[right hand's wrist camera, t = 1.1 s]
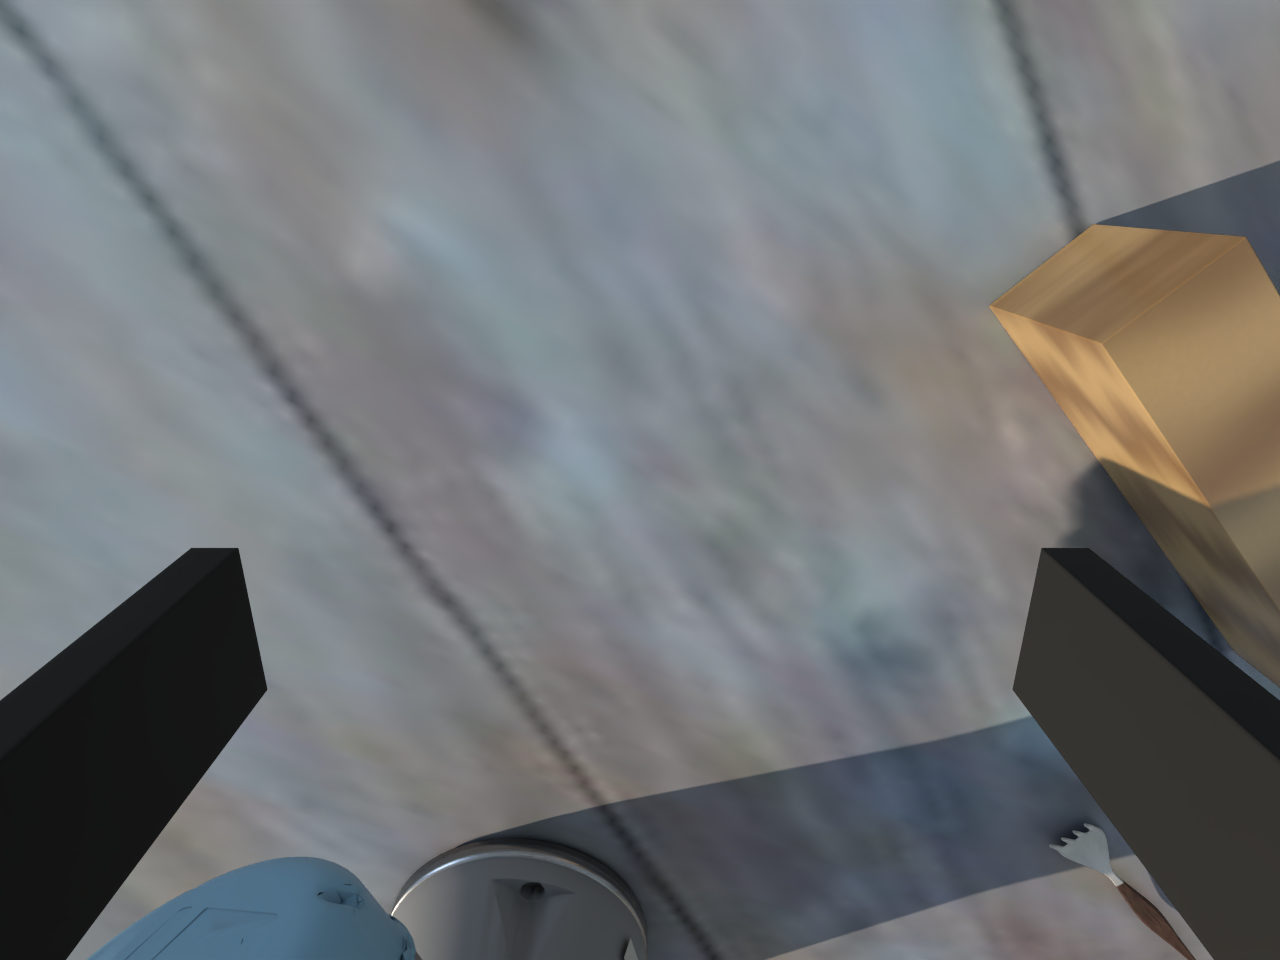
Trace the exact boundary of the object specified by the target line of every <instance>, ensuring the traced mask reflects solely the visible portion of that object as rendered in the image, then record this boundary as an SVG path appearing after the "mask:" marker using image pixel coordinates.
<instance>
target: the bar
mask: <svg viewBox="0 0 1280 960" xmlns="http://www.w3.org/2000/svg"><path fill="white" fill-rule="evenodd" d="M990 308H991V309H992V311H993V312H994V314H995V315H996V316H997V318H998V319H999V321H1000V322H1001V324H1002V325H1003V326H1004V328H1005V329H1006V331H1007V332H1008V333H1009V335H1010V336H1011V338H1012V339H1013V340H1014V342H1015V343H1016V345H1017V346H1018V348H1019V349H1020V350H1021V352H1022V353H1023V355H1024V356H1025V357H1026V359H1027V360H1028V362H1029V363H1030V364H1031V366H1032V367H1033V369H1034V370H1035V372H1036V373H1037V374H1038V376H1039V377H1040V379H1041V380H1042V381H1043V383H1044V384H1045V386H1046V387H1047V388H1048V390H1049V391H1050V393H1051V394H1052V395H1053V397H1054V398H1055V400H1056V401H1057V403H1058V404H1059V405H1060V407H1061V408H1062V410H1063V411H1064V412H1065V414H1066V415H1067V417H1068V418H1069V419H1070V421H1071V422H1072V424H1073V425H1074V427H1075V428H1076V429H1077V431H1078V432H1079V434H1080V435H1081V436H1082V438H1083V439H1084V441H1085V442H1086V443H1087V445H1088V446H1089V448H1090V449H1091V451H1092V452H1093V453H1094V455H1095V456H1096V458H1097V459H1098V460H1099V462H1100V463H1101V465H1102V466H1103V467H1104V469H1105V470H1106V472H1107V473H1108V475H1109V476H1110V477H1111V479H1112V480H1113V482H1114V483H1115V484H1116V486H1117V487H1118V489H1119V490H1120V491H1121V493H1122V494H1123V496H1124V497H1125V499H1126V500H1127V501H1128V503H1129V504H1130V506H1131V507H1132V508H1133V510H1134V511H1135V513H1136V514H1137V515H1138V517H1139V518H1140V520H1141V521H1142V523H1143V524H1144V525H1145V527H1146V528H1147V530H1148V531H1149V532H1150V534H1151V535H1152V537H1153V538H1154V539H1155V541H1156V542H1157V544H1158V545H1159V547H1160V548H1161V549H1162V551H1163V552H1164V554H1165V555H1166V556H1167V558H1168V559H1169V561H1170V562H1171V563H1172V565H1173V566H1174V568H1175V569H1176V570H1177V572H1178V573H1179V575H1180V576H1181V578H1182V579H1183V580H1184V582H1185V583H1186V585H1187V586H1188V587H1189V589H1190V590H1191V592H1192V593H1193V594H1194V596H1195V597H1196V599H1197V600H1198V602H1199V603H1200V604H1201V606H1202V607H1203V609H1204V610H1205V611H1206V613H1207V614H1208V616H1209V617H1210V618H1211V620H1212V621H1213V623H1214V624H1215V626H1216V627H1217V628H1218V630H1219V631H1220V633H1221V634H1222V635H1223V637H1224V638H1225V640H1226V641H1227V642H1228V644H1229V645H1230V647H1231V648H1232V650H1233V651H1234V652H1235V653H1236V654H1237V655H1239V656H1240V657H1241V658H1242V659H1244V660H1245V661H1246V662H1248V663H1249V664H1250V665H1251V666H1253V667H1254V668H1255V669H1256V670H1258V671H1259V672H1260V673H1262V674H1263V675H1264V676H1265V677H1267V678H1268V679H1269V680H1271V681H1272V682H1273V683H1274V684H1276V685H1277V686H1278V687H1279V688H1280V295H1279V293H1278V291H1277V289H1276V288H1275V286H1274V284H1273V283H1272V281H1271V279H1270V277H1269V276H1268V274H1267V272H1266V270H1265V269H1264V267H1263V265H1262V263H1261V262H1260V260H1259V258H1258V256H1257V255H1256V253H1255V251H1254V249H1253V248H1252V246H1251V244H1250V242H1249V241H1248V239H1247V237H1245V236H1233V235H1220V234H1208V233H1196V232H1184V231H1172V230H1159V229H1147V228H1135V227H1123V226H1110V225H1098V224H1093V225H1092V226H1091V227H1089V228H1088V229H1087V230H1085V231H1084V232H1083V233H1082V234H1080V235H1079V236H1078V237H1077V238H1075V239H1074V240H1073V241H1071V242H1070V243H1069V244H1068V245H1066V246H1065V247H1064V248H1062V249H1061V250H1060V251H1059V252H1057V253H1056V254H1055V255H1054V256H1052V257H1051V258H1050V259H1048V260H1047V261H1046V262H1045V263H1043V264H1042V265H1041V266H1039V267H1038V268H1037V269H1036V270H1034V271H1033V272H1032V273H1031V274H1029V275H1028V276H1027V277H1025V278H1024V279H1023V280H1022V281H1020V282H1019V283H1018V284H1016V285H1015V286H1014V287H1013V288H1011V289H1010V290H1009V291H1008V292H1006V293H1005V294H1004V295H1002V296H1001V297H1000V298H999V299H997V300H996V301H995V302H993V303H992V304H991V305H990Z"/></svg>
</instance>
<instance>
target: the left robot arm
mask: <svg viewBox="0 0 1280 960" xmlns="http://www.w3.org/2000/svg"><path fill="white" fill-rule="evenodd" d="M87 960H647V928H646V922H645V918H644V915H643V912H642V909H641V907H640V905H639V903H638V901H637V899H636V898H635V896H634V894H633V893H632V892H631V890H630V889H629V888H628V886H627V885H626V884H625V883H624V882H623V881H622V880H621V879H620V878H619V877H618V876H617V875H616V874H614V873H613V872H612V871H611V870H610V869H608V868H607V867H605V866H604V865H603V864H601V863H599V862H598V861H596V860H594V859H593V858H591V857H589V856H587V855H585V854H583V853H580V852H578V851H576V850H573V849H570V848H568V847H564V846H561V845H557V844H554V843H549V842H544V841H538V840H531V839H517V838H510V839H493V840H485V841H479V842H474V843H470V844H467V845H463V846H460V847H457V848H454V849H452V850H449V851H447V852H445V853H443V854H441V855H439V856H437V857H435V858H434V859H432V860H430V861H429V862H427V863H426V864H425V865H423V866H422V867H421V868H420V869H418V870H417V871H416V872H415V873H414V874H413V875H412V876H411V877H410V878H409V880H408V881H407V882H406V883H405V885H404V886H403V888H402V889H401V891H400V893H399V895H398V896H397V898H396V901H395V904H394V907H393V909H392V912H391V915H390V914H387V913H386V912H385V911H384V909H383V908H382V907H381V906H380V904H379V903H378V902H377V901H376V899H375V898H374V897H373V896H372V895H371V893H370V892H369V891H368V890H367V888H366V887H365V886H364V885H363V884H362V882H361V881H360V880H359V879H358V878H357V877H356V876H355V875H354V874H353V873H351V872H350V871H349V870H347V869H346V868H344V867H342V866H340V865H338V864H336V863H334V862H331V861H327V860H324V859H319V858H313V857H286V858H278V859H271V860H267V861H263V862H259V863H255V864H252V865H248V866H245V867H242V868H239V869H236V870H233V871H231V872H228V873H226V874H223V875H221V876H218V877H216V878H214V879H212V880H210V881H208V882H206V883H204V884H202V885H200V886H199V887H197V888H195V889H192V890H190V891H187V892H185V893H183V894H181V895H180V896H178V897H176V898H174V899H172V900H171V901H169V902H167V903H165V904H164V905H162V906H160V907H159V908H157V909H155V910H154V911H152V912H151V913H149V914H147V915H146V916H144V917H143V918H141V919H140V920H138V921H137V922H135V923H134V924H132V925H131V926H129V927H128V928H127V929H125V930H124V931H122V932H121V933H120V934H118V935H117V936H115V937H114V938H113V939H111V940H110V941H109V942H107V943H106V944H105V945H104V946H103V947H101V948H100V949H99V950H98V951H96V952H95V953H94V954H93V955H91V956H90V957H89V958H88V959H87Z"/></svg>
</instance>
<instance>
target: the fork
mask: <svg viewBox="0 0 1280 960" xmlns="http://www.w3.org/2000/svg"><path fill="white" fill-rule="evenodd" d="M1084 826H1085V827H1087V828H1088V829H1089V831H1088V832H1086V833H1083V832H1080V831H1074V830H1073V831H1072V832H1073V833H1074V834H1076V835H1077V836H1078V838H1077V839H1070V838H1064V837H1061V840H1062V841H1064V842H1066V843H1067V845H1065V846H1059V845H1054V844H1050V845H1049V847H1050V848H1053V849H1055V850H1057V851H1058V852H1059V853H1060V854H1061V855H1062V856H1064V857H1065V858H1067V859H1069V860H1072V861H1074V862H1077V863H1079V864H1082V865H1084V866H1087V867H1090V868H1092V869H1095V870H1097V871H1100V872H1102V873H1103V874H1105V875H1107V876H1108V877H1109V878H1110V879H1111V880H1112V882H1113V883H1114V884H1115V886H1116V887H1117V888H1118V890H1119V891H1120V893H1121V894H1122V895H1123V897H1124V898H1125V900H1126V901H1127V903H1128V904H1129V905H1130V907H1131V908H1132V910H1133V911H1134V912H1135V914H1136V915H1137V916H1138V917H1139V918H1140V920H1141V921H1142V922H1143V923H1144V924H1145V925H1146V926H1148V927H1149V928H1150V929H1151V930H1152V931H1154V932H1155V933H1156V934H1157V935H1159V936H1160V937H1161V938H1162V939H1164V940H1165V941H1166V942H1167V943H1169V944H1170V945H1171V946H1172V947H1174V948H1175V949H1176V950H1177V951H1178V952H1180V953H1181V954H1182V955H1183V956H1184V957H1185V958H1187V959H1188V960H1196V959H1195V958H1194V957H1193V955H1192V954H1191V953H1190V952H1189V950H1188V949H1187V948H1186V946H1185V945H1184V944H1183V942H1182V941H1181V940H1180V938H1179V937H1178V935H1177V934H1176V933H1175V931H1174V930H1173V928H1172V927H1171V925H1170V924H1169V923H1168V921H1167V920H1166V918H1165V917H1164V916H1163V915H1162V913H1161V912H1160V911H1159V910H1158V909H1157V908H1156V907H1155V906H1154V905H1153V904H1152V903H1151V902H1149V901H1148V900H1147V899H1146V898H1145V897H1143V896H1142V895H1141V894H1140V893H1138V892H1137V891H1136V890H1134V889H1133V888H1132V887H1131V886H1129V885H1128V884H1127V883H1126V882H1124V881H1123V880H1122V879H1121V878H1119V877H1118V876H1117V875H1116V874H1115V873H1114V872H1113V870H1112V868H1111V864H1110V859H1109V851H1108V844H1107V839H1106V836H1105V834H1104V832H1103V831H1102V830H1101V829H1100V828H1098V827H1096V826H1094V825H1091V824H1086V823H1084Z"/></svg>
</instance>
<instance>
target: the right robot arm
mask: <svg viewBox="0 0 1280 960" xmlns="http://www.w3.org/2000/svg"><path fill="white" fill-rule="evenodd" d="M266 691H267V685H266V681H265V676H264V671H263V666H262V661H261V656H260V651H259V646H258V642H257V637H256V632H255V627H254V622H253V617H252V612H251V607H250V603H249V598H248V593H247V588H246V583H245V578H244V573H243V568H242V564H241V559H240V554H239V549H238V548H191V549H190V550H188V551H187V552H186V553H185V554H183V555H182V556H181V557H180V558H178V559H177V560H176V561H175V562H173V563H172V564H171V565H170V566H168V567H167V568H166V569H165V570H163V571H162V572H161V573H160V574H158V575H157V576H156V577H155V578H153V579H152V580H151V581H150V582H148V583H147V584H146V585H145V586H143V587H142V588H141V589H140V590H138V591H137V592H136V593H135V594H133V595H132V596H131V597H130V598H128V599H127V600H126V601H125V602H123V603H122V604H121V605H120V606H118V607H117V608H116V609H114V610H113V611H112V612H111V613H109V614H108V615H107V616H106V617H104V618H103V619H102V620H101V621H99V622H98V623H97V624H96V625H94V626H93V627H92V628H91V629H89V630H88V631H87V632H86V633H84V634H83V635H82V636H81V637H79V638H78V639H77V640H76V641H74V642H73V643H72V644H71V645H69V646H68V647H67V648H66V649H64V650H63V651H62V652H61V653H59V654H58V655H57V656H56V657H54V658H53V659H52V660H51V661H49V662H48V663H47V664H46V665H44V666H43V667H42V668H41V669H39V670H38V671H37V672H36V673H34V674H33V675H32V676H31V677H29V678H28V679H27V680H26V681H24V682H23V683H22V684H21V685H19V686H18V687H17V688H16V689H14V690H13V691H12V692H11V693H9V694H8V695H7V696H6V697H4V698H3V699H2V700H1V701H0V960H66V959H67V958H68V956H69V955H70V954H71V952H72V951H73V950H74V948H75V947H76V945H77V944H78V943H79V941H80V940H81V939H82V937H83V936H84V935H85V933H86V932H87V931H88V929H89V928H90V927H91V925H92V924H93V923H94V921H95V920H96V919H97V917H98V916H99V915H100V913H101V912H102V911H103V909H104V908H105V907H106V905H107V904H108V903H109V901H110V900H111V899H112V897H113V896H114V895H115V893H116V892H117V891H118V889H119V888H120V886H121V885H122V884H123V882H124V881H125V880H126V878H127V877H128V876H129V874H130V873H131V872H132V870H133V869H134V868H135V866H136V865H137V864H138V862H139V861H140V860H141V858H142V857H143V856H144V854H145V853H146V852H147V850H148V849H149V848H150V846H151V845H152V844H153V842H154V841H155V840H156V838H157V837H158V836H159V834H160V833H161V831H162V830H163V829H164V827H165V826H166V825H167V823H168V822H169V821H170V819H171V818H172V817H173V815H174V814H175V813H176V811H177V810H178V809H179V807H180V806H181V805H182V803H183V802H184V801H185V799H186V798H187V797H188V795H189V794H190V793H191V791H192V790H193V789H194V787H195V786H196V785H197V783H198V782H199V781H200V779H201V778H202V777H203V775H204V774H205V772H206V771H207V770H208V768H209V767H210V766H211V764H212V763H213V762H214V760H215V759H216V758H217V756H218V755H219V754H220V752H221V751H222V750H223V748H224V747H225V746H226V744H227V743H228V742H229V740H230V739H231V738H232V736H233V735H234V734H235V732H236V731H237V730H238V728H239V727H240V726H241V724H242V723H243V722H244V720H245V719H246V718H247V716H248V715H249V713H250V712H251V711H252V709H253V708H254V707H255V705H256V704H257V703H258V701H259V700H260V699H261V697H262V696H263V695H264V693H265V692H266ZM1013 691H1014V692H1015V693H1016V695H1017V696H1018V697H1019V699H1020V700H1021V701H1022V703H1023V704H1024V705H1025V707H1026V708H1027V709H1028V711H1029V712H1030V713H1031V715H1032V716H1033V718H1034V719H1035V720H1036V722H1037V723H1038V724H1039V726H1040V727H1041V728H1042V730H1043V731H1044V732H1045V734H1046V735H1047V736H1048V738H1049V739H1050V740H1051V742H1052V743H1053V744H1054V746H1055V747H1056V748H1057V750H1058V751H1059V752H1060V754H1061V755H1062V756H1063V758H1064V759H1065V760H1066V762H1067V763H1068V764H1069V766H1070V767H1071V768H1072V770H1073V771H1074V772H1075V774H1076V775H1077V777H1078V778H1079V779H1080V781H1081V782H1082V783H1083V785H1084V786H1085V787H1086V789H1087V790H1088V791H1089V793H1090V794H1091V795H1092V797H1093V798H1094V799H1095V801H1096V802H1097V803H1098V805H1099V806H1100V807H1101V809H1102V810H1103V811H1104V813H1105V814H1106V815H1107V817H1108V818H1109V819H1110V821H1111V822H1112V823H1113V825H1114V826H1115V827H1116V829H1117V830H1118V831H1119V833H1120V834H1121V836H1122V837H1123V838H1124V840H1125V841H1126V842H1127V844H1128V845H1129V846H1130V848H1131V849H1132V850H1133V852H1134V853H1135V854H1136V856H1137V857H1138V858H1139V860H1140V861H1141V862H1142V864H1143V865H1144V866H1145V868H1146V869H1147V870H1148V872H1149V873H1150V874H1151V876H1152V877H1153V878H1154V880H1155V881H1156V882H1157V884H1158V885H1159V886H1160V888H1161V889H1162V890H1163V892H1164V893H1165V895H1166V896H1167V897H1168V899H1169V900H1170V901H1171V903H1172V904H1173V905H1174V907H1175V908H1176V909H1177V911H1178V912H1179V913H1180V915H1181V916H1182V917H1183V919H1184V920H1185V921H1186V923H1187V924H1188V925H1189V927H1190V928H1191V929H1192V931H1193V932H1194V933H1195V935H1196V936H1197V937H1198V939H1199V940H1200V941H1201V943H1202V944H1203V945H1204V947H1205V948H1206V950H1207V951H1208V952H1209V954H1210V955H1211V956H1212V958H1213V959H1214V960H1280V701H1279V700H1278V699H1277V698H1276V697H1274V696H1273V695H1272V694H1271V693H1269V692H1268V691H1267V690H1266V689H1264V688H1263V687H1262V686H1261V685H1259V684H1258V683H1257V682H1256V681H1254V680H1253V679H1252V678H1251V677H1249V676H1248V675H1247V674H1246V673H1244V672H1243V671H1242V670H1241V669H1239V668H1238V667H1237V666H1236V665H1234V664H1233V663H1232V662H1231V661H1229V660H1228V659H1227V658H1226V657H1224V656H1223V655H1222V654H1221V653H1219V652H1218V651H1217V650H1216V649H1214V648H1213V647H1212V646H1211V645H1209V644H1208V643H1207V642H1206V641H1204V640H1203V639H1202V638H1201V637H1199V636H1198V635H1197V634H1196V633H1194V632H1193V631H1192V630H1191V629H1189V628H1188V627H1187V626H1186V625H1184V624H1183V623H1182V622H1181V621H1179V620H1178V619H1177V618H1176V617H1174V616H1173V615H1172V614H1171V613H1169V612H1168V611H1167V610H1166V609H1164V608H1163V607H1162V606H1160V605H1159V604H1158V603H1157V602H1155V601H1154V600H1153V599H1152V598H1150V597H1149V596H1148V595H1147V594H1145V593H1144V592H1143V591H1142V590H1140V589H1139V588H1138V587H1137V586H1135V585H1134V584H1133V583H1132V582H1130V581H1129V580H1128V579H1127V578H1125V577H1124V576H1123V575H1122V574H1120V573H1119V572H1118V571H1117V570H1115V569H1114V568H1113V567H1112V566H1110V565H1109V564H1108V563H1107V562H1105V561H1104V560H1103V559H1102V558H1100V557H1099V556H1098V555H1097V554H1095V553H1094V552H1093V551H1092V550H1090V549H1089V548H1042V549H1041V554H1040V559H1039V564H1038V569H1037V573H1036V578H1035V583H1034V588H1033V593H1032V598H1031V603H1030V607H1029V612H1028V617H1027V622H1026V627H1025V632H1024V637H1023V642H1022V646H1021V651H1020V656H1019V661H1018V666H1017V671H1016V676H1015V681H1014V685H1013Z"/></svg>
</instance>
